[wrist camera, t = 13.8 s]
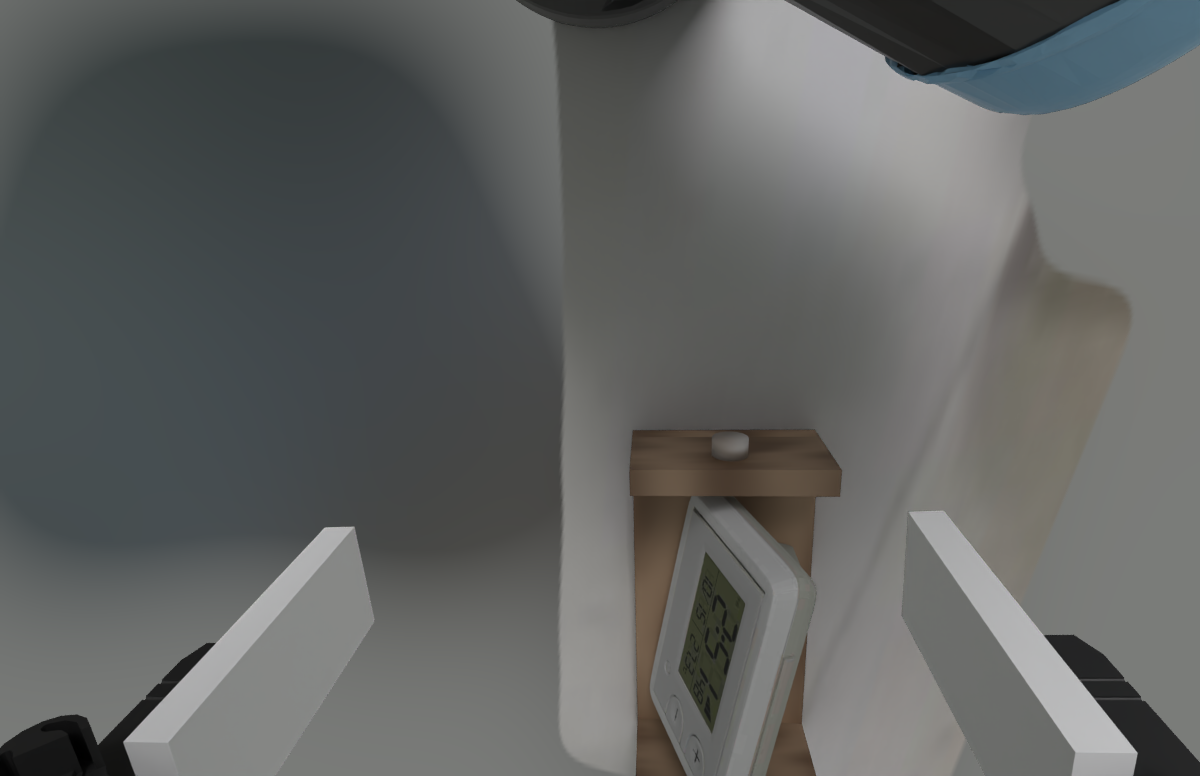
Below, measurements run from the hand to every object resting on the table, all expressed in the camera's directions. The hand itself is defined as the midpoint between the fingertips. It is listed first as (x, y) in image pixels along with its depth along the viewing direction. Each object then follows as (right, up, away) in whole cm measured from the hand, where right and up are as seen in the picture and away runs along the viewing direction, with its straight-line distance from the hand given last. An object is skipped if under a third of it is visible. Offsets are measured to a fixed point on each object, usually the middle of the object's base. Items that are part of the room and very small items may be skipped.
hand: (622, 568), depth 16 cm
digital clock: (+7, -9, +27) cm, 30 cm away
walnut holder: (+7, -9, +28) cm, 31 cm away
